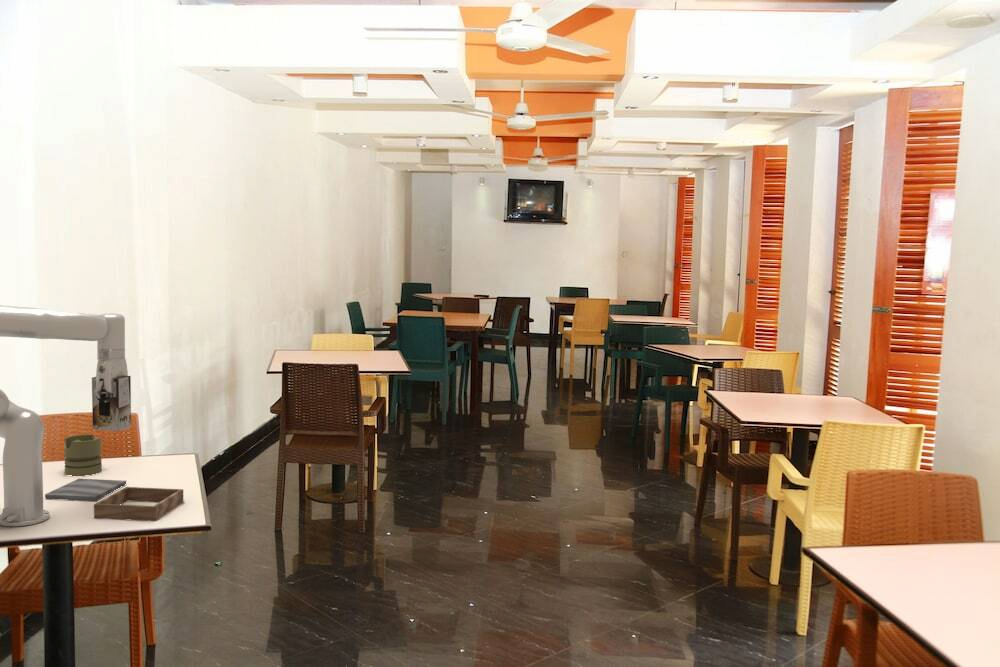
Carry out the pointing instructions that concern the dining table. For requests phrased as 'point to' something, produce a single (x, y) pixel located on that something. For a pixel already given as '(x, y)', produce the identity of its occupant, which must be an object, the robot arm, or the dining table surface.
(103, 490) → the serving board
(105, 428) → the coffee box
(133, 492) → the wooden frame
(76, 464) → the piston
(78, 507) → the dining table surface
